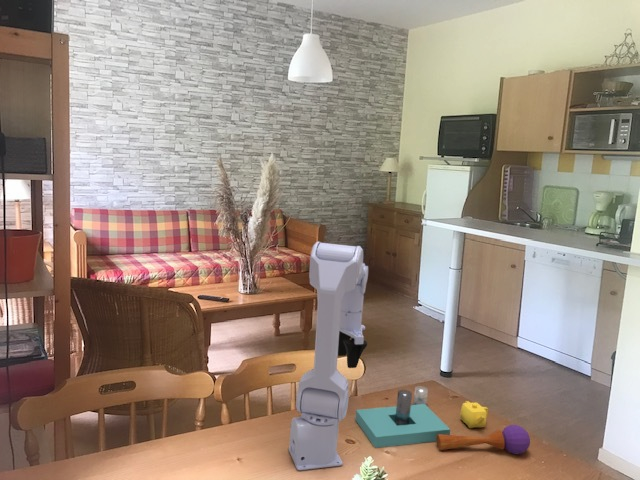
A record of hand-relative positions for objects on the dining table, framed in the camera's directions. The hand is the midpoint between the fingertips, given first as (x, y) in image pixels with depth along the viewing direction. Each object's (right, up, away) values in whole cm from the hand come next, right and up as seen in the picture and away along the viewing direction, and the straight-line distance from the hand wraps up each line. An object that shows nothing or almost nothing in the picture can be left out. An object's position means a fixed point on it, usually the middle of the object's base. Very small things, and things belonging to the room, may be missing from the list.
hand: (346, 361), depth 133 cm
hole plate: (+12, -13, -12) cm, 21 cm away
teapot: (+30, -14, -7) cm, 34 cm away
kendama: (+29, -16, -18) cm, 37 cm away
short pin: (+19, -11, 0) cm, 22 cm away
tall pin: (+12, -13, -12) cm, 21 cm away
